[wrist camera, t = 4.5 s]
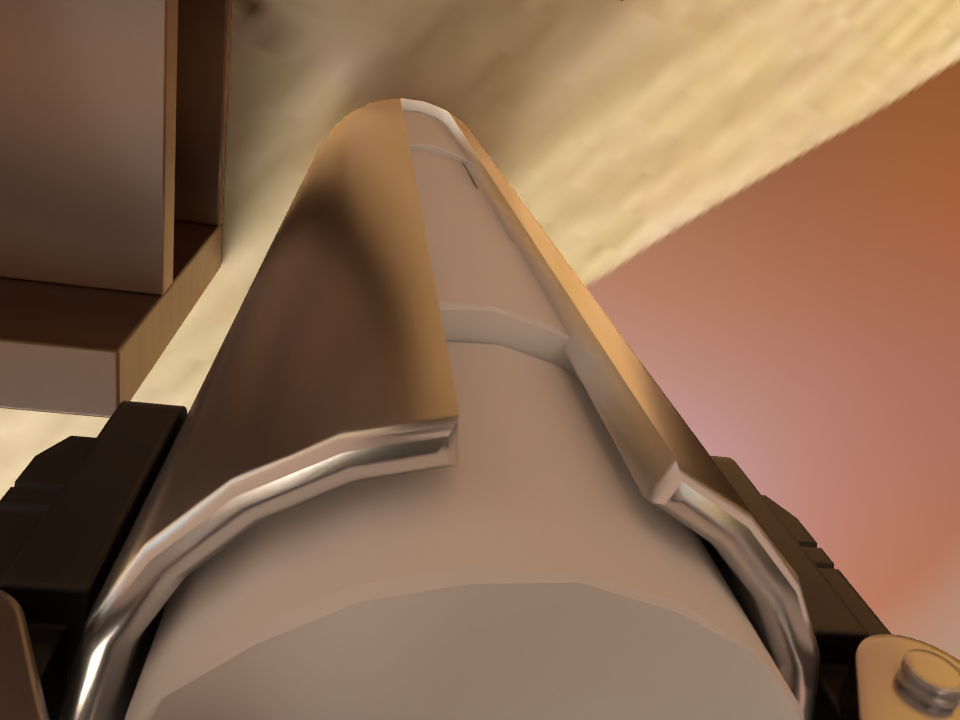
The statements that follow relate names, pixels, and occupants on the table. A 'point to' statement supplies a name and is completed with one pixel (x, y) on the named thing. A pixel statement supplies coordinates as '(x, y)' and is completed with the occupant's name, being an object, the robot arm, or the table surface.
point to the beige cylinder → (436, 487)
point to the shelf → (105, 190)
